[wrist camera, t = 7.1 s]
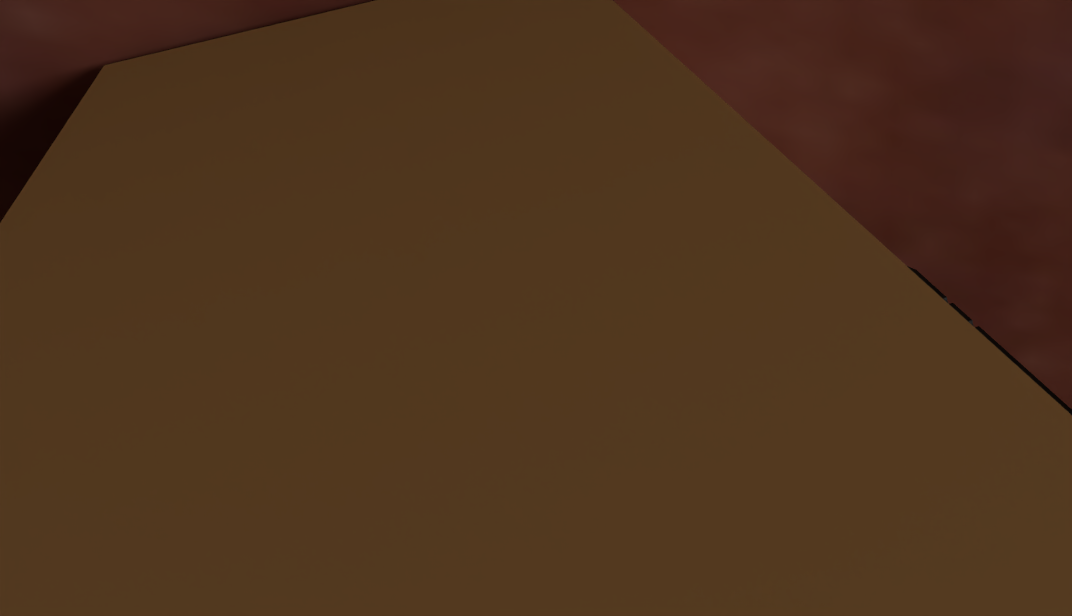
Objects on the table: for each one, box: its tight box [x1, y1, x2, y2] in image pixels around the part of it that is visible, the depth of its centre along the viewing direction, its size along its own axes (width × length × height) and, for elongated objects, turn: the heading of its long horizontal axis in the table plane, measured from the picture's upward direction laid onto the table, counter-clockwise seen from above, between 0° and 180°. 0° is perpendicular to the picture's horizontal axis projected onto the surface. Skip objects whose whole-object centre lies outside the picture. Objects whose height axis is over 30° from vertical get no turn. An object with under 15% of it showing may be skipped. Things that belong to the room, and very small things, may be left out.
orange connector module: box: [0, 0, 1072, 616], centre depth 9 cm, size 6×6×11 cm
